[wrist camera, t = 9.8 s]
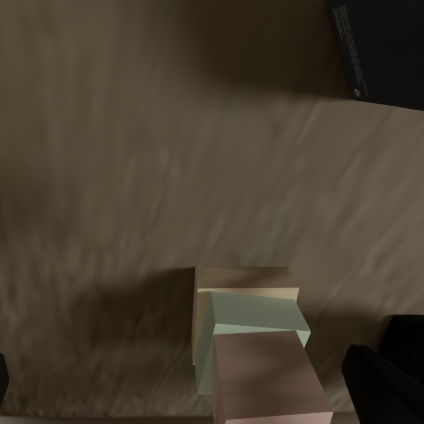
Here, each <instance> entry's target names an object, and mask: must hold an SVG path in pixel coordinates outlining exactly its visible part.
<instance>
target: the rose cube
mask: <svg viewBox="0 0 424 424" xmlns="http://www.w3.org/2000/svg"><path fill="white" fill-rule="evenodd" d="M211 395H212V405H213V414H214V424H330V421H331V418H332V414H333V410H332V408H331V405H330V403H329V401H328V399H327V397H326V395H325V392H324V390H323V388H322V386H321V384H320V382H319V379H318V377H317V375H316V373H315V371H314V368H313V366H312V364H311V362H310V360H309V358H308V355H307V353H306V351H305V349H304V347H303V345H302V342H301V340H300V338H299V336H298V334H297V331H275V332H255V333H235V334H216V335H214V346H213V367H212V388H211Z"/></svg>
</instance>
